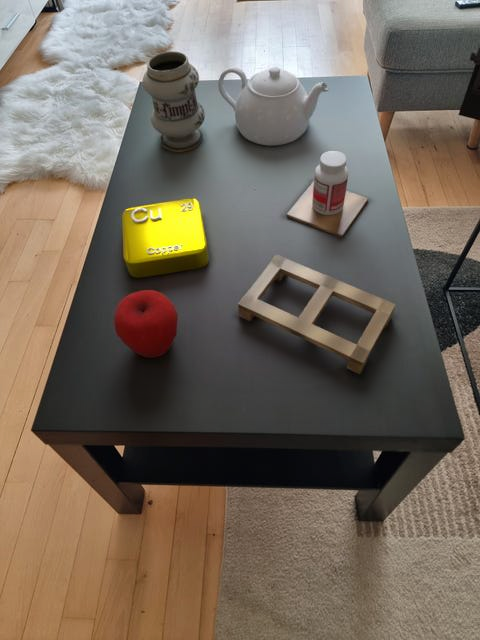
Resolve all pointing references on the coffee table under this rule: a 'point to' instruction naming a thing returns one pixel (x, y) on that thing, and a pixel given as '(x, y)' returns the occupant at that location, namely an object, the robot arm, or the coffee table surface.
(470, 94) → the robot arm
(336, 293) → the bottle rack
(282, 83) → the teapot
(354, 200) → the brown flat square
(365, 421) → the coffee table surface
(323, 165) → the pill bottle
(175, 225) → the element tile
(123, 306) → the apple
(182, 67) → the apothecary jar
